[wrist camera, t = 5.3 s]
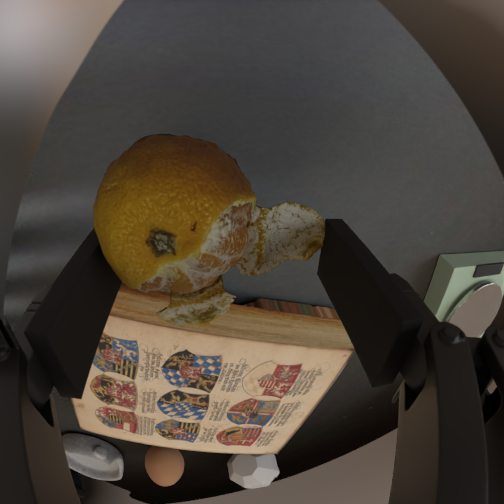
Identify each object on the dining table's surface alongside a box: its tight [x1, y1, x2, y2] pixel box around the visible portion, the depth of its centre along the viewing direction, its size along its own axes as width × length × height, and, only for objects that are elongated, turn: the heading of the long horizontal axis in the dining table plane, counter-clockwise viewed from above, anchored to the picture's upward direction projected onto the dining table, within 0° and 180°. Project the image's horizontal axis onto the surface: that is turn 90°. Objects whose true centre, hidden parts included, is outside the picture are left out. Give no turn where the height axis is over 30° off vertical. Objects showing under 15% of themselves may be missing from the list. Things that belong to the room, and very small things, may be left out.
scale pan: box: [445, 281, 502, 337], centre depth 31 cm, size 11×11×1 cm
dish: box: [62, 433, 124, 480], centre depth 41 cm, size 14×14×5 cm
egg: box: [145, 445, 184, 486], centre depth 39 cm, size 6×6×8 cm
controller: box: [70, 470, 87, 498], centre depth 46 cm, size 4×12×10 cm, turn 117°
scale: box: [423, 251, 504, 338], centre depth 32 cm, size 14×14×3 cm
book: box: [71, 282, 355, 454], centre depth 30 cm, size 25×6×28 cm
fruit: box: [93, 134, 325, 326], centre depth 11 cm, size 8×8×4 cm
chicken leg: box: [227, 453, 279, 489], centre depth 45 cm, size 8×18×8 cm, turn 19°
